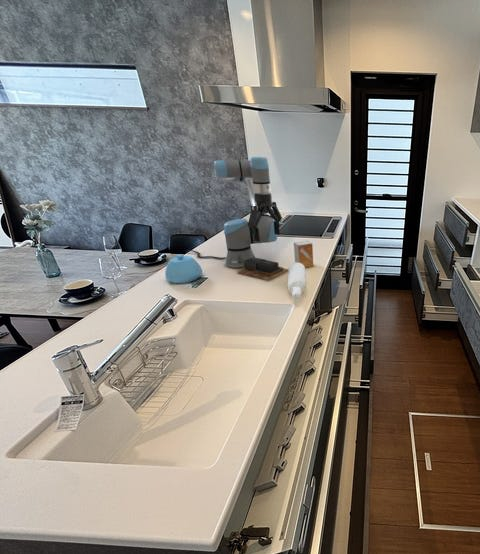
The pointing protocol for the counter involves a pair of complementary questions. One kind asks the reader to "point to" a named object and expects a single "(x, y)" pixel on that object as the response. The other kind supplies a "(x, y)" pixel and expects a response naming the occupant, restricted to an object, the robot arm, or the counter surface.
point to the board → (252, 270)
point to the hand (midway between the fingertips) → (267, 237)
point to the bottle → (297, 280)
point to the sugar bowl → (182, 269)
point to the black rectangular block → (267, 266)
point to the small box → (304, 253)
